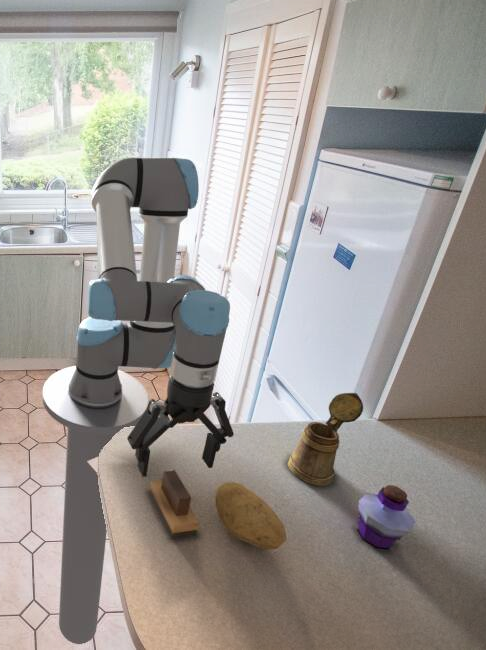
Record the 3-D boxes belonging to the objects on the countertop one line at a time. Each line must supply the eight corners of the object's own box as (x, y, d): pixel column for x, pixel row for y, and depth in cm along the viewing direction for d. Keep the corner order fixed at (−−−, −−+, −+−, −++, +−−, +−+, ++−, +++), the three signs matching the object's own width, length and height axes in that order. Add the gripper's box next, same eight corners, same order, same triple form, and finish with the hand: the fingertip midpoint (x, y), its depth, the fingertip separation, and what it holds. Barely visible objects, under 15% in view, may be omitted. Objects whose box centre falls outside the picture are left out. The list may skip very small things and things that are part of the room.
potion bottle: (400, 530, 88) (423, 485, 82) (404, 566, 81) (430, 519, 76) (348, 510, 92) (366, 466, 87) (348, 543, 85) (368, 496, 80)
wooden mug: (353, 468, 102) (379, 404, 94) (316, 491, 96) (342, 424, 88) (314, 444, 109) (336, 382, 101) (278, 464, 103) (299, 399, 96)
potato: (256, 574, 80) (267, 543, 76) (199, 513, 91) (205, 484, 88) (294, 552, 83) (305, 522, 80) (234, 497, 95) (242, 468, 91)
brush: (149, 493, 96) (153, 464, 92) (171, 490, 96) (176, 462, 93) (171, 538, 86) (177, 508, 82) (196, 535, 87) (203, 505, 83)
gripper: (131, 397, 74) (120, 490, 83) (270, 383, 77) (244, 473, 87) (116, 372, 80) (107, 460, 90) (244, 359, 84) (223, 446, 94)
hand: (174, 467), depth 88 cm, fingers open, 13 cm apart
